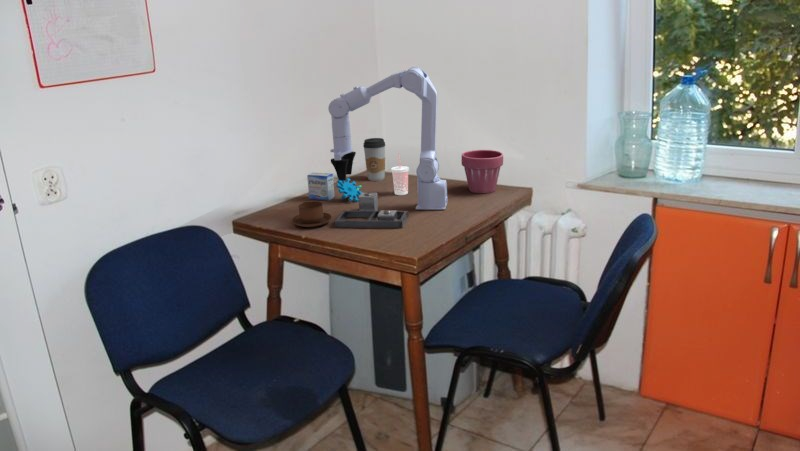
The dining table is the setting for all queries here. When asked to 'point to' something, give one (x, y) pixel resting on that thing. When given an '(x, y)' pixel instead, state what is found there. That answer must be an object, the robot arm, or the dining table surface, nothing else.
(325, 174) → the medicine box
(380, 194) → the dining table surface
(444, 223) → the dining table surface
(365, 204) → the grey square block
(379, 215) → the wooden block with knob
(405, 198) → the dining table surface
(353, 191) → the gear
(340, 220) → the grey flat rectangular frame
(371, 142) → the coffee cup
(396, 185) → the beverage cup
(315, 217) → the cup and saucer
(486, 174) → the plant pot
